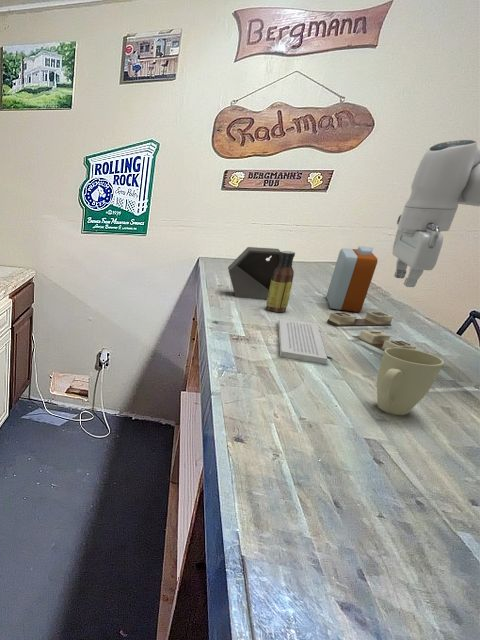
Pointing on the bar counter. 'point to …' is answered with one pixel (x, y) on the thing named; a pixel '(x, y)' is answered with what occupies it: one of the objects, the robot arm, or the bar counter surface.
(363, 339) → the front rack
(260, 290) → the planter
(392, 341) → the s tile
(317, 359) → the plaque
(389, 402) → the mug
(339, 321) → the back rack
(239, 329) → the bar counter surface
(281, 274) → the sauce bottle
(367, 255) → the orange grey tall block
